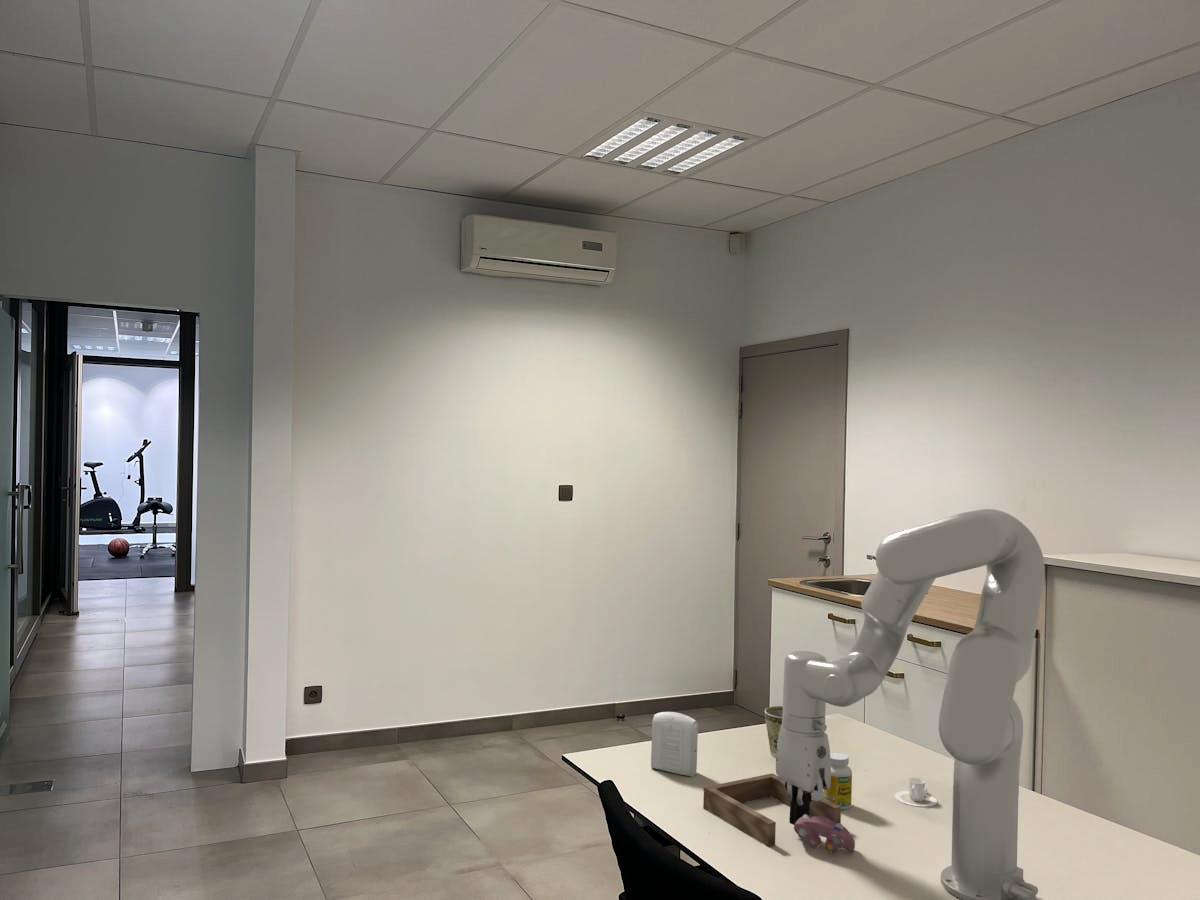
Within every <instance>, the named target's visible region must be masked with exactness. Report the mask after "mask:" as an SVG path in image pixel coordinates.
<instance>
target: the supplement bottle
mask: <svg viewBox="0 0 1200 900" xmlns="http://www.w3.org/2000/svg"><path fill="white" fill-rule="evenodd" d="M830 759H831V784H830V788H829V789H827V790H825V789H823V792H824V799H826V800H828V801H831V802H833V803H835V804H837V805H839V806H841V811H843V810H849V809H850V808H851V806H852V794H853V793H852V790H853V787H852V786H853V785H852V784H853V779H852V778H853V771H852V768H851V767H849V766H848V765H849V763H850V762H849V761H850V760H849V759H850V758H849V756H848V755H846V754H845V753H839V752H830Z"/></svg>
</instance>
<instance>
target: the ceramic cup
mask: <svg viewBox="0 0 1200 900" xmlns="http://www.w3.org/2000/svg"><path fill="white" fill-rule="evenodd" d="M782 713H783V705H776V706H775V705H774V706H770V707H766V708H765V709H764V717H765V719H764V720H765V727H766V731H767V737H768V744H769V745H768V746H769V751H770V755H771V757H773V758H774V759H776V750H777V742H778V736H779V731H780V727H781V724H782Z"/></svg>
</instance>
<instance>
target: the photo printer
mask: <svg viewBox="0 0 1200 900" xmlns="http://www.w3.org/2000/svg"><path fill="white" fill-rule="evenodd" d="M651 725H652V726H651V750H650V751H651V752H650V755H651V756H650V768H653V769H655V770H660V771H664V772H668V773H673V774H676V775H683V776H688V777H694V776H696V775H697V767H698V766H697V765H698V739H699V738H698V736H699V735H698V734H699V732H698V731H699V724H698V721H697V720H696V719H694V718H692V717H691V716H688V715H687V714H683V713H680V712H675V711H661V712H658V713H656V714H655V713H654V715H653V718H652V724H651Z"/></svg>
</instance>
